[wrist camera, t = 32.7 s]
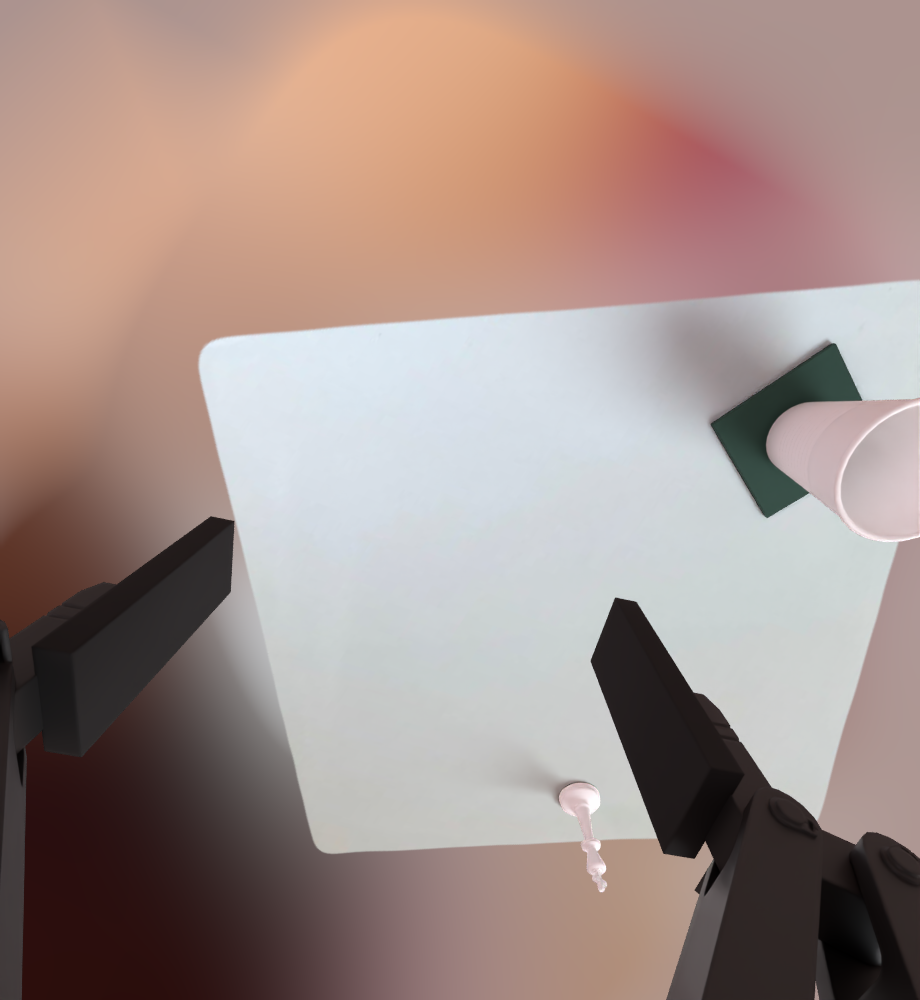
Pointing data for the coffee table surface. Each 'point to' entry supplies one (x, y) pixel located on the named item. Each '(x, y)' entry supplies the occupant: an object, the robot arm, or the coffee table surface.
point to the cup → (856, 461)
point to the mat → (756, 416)
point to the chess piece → (585, 824)
